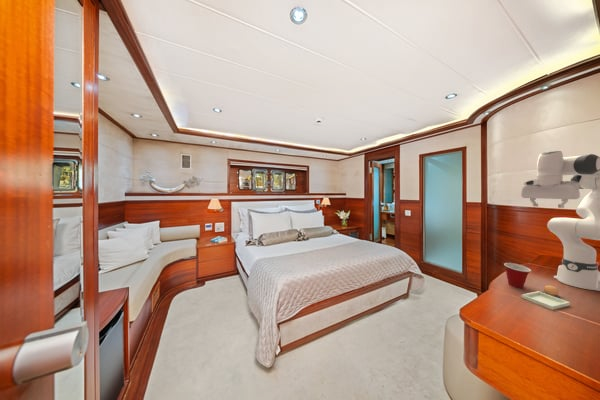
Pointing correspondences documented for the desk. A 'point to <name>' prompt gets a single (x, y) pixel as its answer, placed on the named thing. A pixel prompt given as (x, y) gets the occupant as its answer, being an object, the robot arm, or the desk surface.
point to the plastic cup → (516, 274)
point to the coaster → (555, 296)
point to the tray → (545, 300)
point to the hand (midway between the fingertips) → (547, 207)
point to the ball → (551, 290)
